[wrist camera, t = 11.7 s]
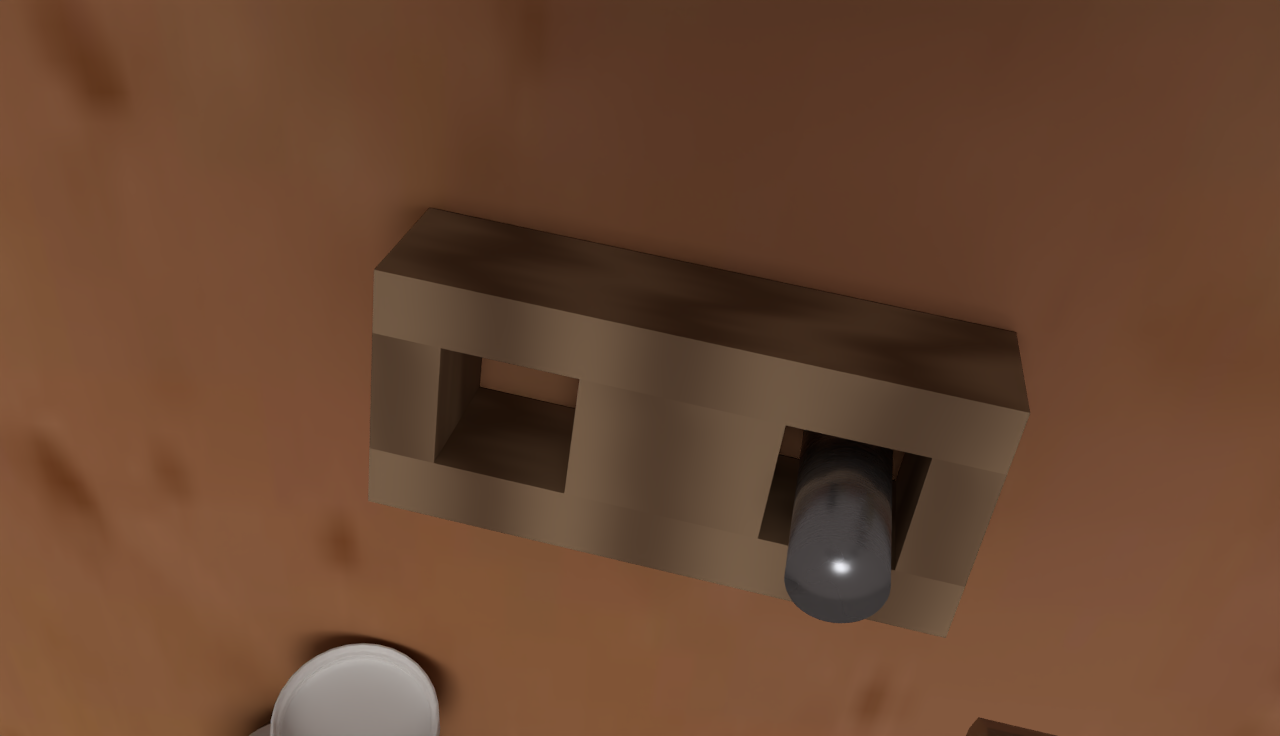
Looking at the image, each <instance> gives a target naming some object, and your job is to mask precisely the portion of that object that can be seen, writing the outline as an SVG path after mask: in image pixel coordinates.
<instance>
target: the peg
mask: <svg viewBox="0 0 1280 736" xmlns="http://www.w3.org/2000/svg"><path fill="white" fill-rule="evenodd" d="M892 466H893V449H889V448H885V447H881V446H876V445H872V444H867V443H863V442H858V441H854V440H849V439H845V438H840V437H836V436H831V435H827V434H822V433H818V432H813V431H809V430H805V429H804V432H803V439H802V447H801V454H800V462H799V469H798V477H797V484H796V492H795V499H794V507H793V514H792V522H791V529H790V537H789V544H788V552H787V559H786V567H785V574H784V582H785V588H786V591H787V593H788V595H789V597H790V598H791V600H792V601H793V602H794V603H795V605H796V606H797V607H799V608H800V609H801V610H802V611H804V612H805V613H807V614H808V615H810V616H812V617H814V618H817V619H819V620H823V621H827V622H832V623H850V622H856V621H860V620H863V619H866V618H868V617H870V616H872V615H873V614H875V613H876V612H877V611H878V610H880V609H881V608H882V606H883V605H884V604H885V602H886V601H887V599H888V597H889V594H890V590H891V539H892Z"/></svg>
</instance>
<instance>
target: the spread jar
mask: <svg viewBox="0 0 1280 736" xmlns="http://www.w3.org/2000/svg"><path fill="white" fill-rule="evenodd" d="M439 734H440V719H439V703H438V699H437V695H436V691H435V688H434V686H433V684H432V682H431V680H430V678H429V677H428V675H427V674H426V673H425V671H424V670H423V669H422V668H421V667H420V665H419V664H418V663H416V662H415V661H414V660H413V659H411V658H410V657H409V656H407V655H406V654H404V653H402V652H400V651H398V650H396V649H394V648H390V647H387V646H383V645H379V644H369V643H358V644H347V645H344V646H340V647H336V648H332V649H330V650H328V651H326V652H323V653H321V654H319V655H317V656H315V657H314V658H313V659H311V660H310V661H308V662H307V663H305V664H304V665H303V666H301V667H300V668H299V669H298V670H297V671H296V672H295V673H294V674H293V675H292V676H291V677H290V679H289V680H288V682H287V683H286V684H285V686H284V687H283V689H282V690H281V692H280V694H279V696H278V699H277V701H276V703H275V706H274V709H273V713H272V717H271V721H269V722H268V723H266V724H265V725H263V726H262V727H260V728H259V729H257V730H256V731H254V732H253V733H251V734H250V735H249V736H439Z"/></svg>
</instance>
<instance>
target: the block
mask: <svg viewBox="0 0 1280 736" xmlns="http://www.w3.org/2000/svg"><path fill="white" fill-rule="evenodd" d="M482 357H483V358H487V359H492V360H496V361H501V362H505V363H509V364H514V365H518V366H523V367H527V368H532V369H536V370H541V371H545V372H550V373H554V374H559V375H563V376H568V377H572V378H577V379H580V380H579V387H578V395H577V402H576V409H573V408H569V407H565V406H560V405H556V404H551V403H547V402H543V401H538V400H534V399H529V398H525V397H520V396H516V395H512V394H507V393H503V392H498V391H494V390H489V389H485V388H481V387H479V386H480V373H481V361H482ZM1029 415H1030V409H1029V404H1028V398H1027V392H1026V386H1025V380H1024V375H1023V369H1022V363H1021V357H1020V351H1019V346H1018V340H1017V334H1016V332H1011V331H1007V330H1002V329H997V328H993V327H988V326H983V325H978V324H974V323H969V322H964V321H960V320H955V319H950V318H946V317H941V316H936V315H931V314H927V313H922V312H917V311H913V310H908V309H903V308H899V307H894V306H889V305H884V304H880V303H875V302H870V301H866V300H861V299H856V298H851V297H847V296H842V295H837V294H833V293H828V292H823V291H819V290H814V289H809V288H804V287H800V286H795V285H790V284H786V283H781V282H776V281H772V280H767V279H762V278H757V277H753V276H748V275H743V274H739V273H734V272H729V271H724V270H720V269H715V268H710V267H706V266H701V265H696V264H692V263H687V262H682V261H677V260H673V259H668V258H663V257H659V256H654V255H649V254H645V253H640V252H635V251H630V250H626V249H621V248H616V247H612V246H607V245H602V244H598V243H593V242H588V241H583V240H579V239H574V238H569V237H565V236H560V235H555V234H550V233H546V232H541V231H536V230H532V229H527V228H522V227H518V226H513V225H508V224H503V223H499V222H494V221H489V220H485V219H480V218H475V217H471V216H466V215H461V214H456V213H452V212H447V211H442V210H438V209H433V208H429V209H428V210H427V211H426V212H425V213H424V215H423V216H422V217H421V218H420V219H419V220H418V221H417V222H416V223H415V225H414V226H413V227H412V228H411V229H410V230H409V231H408V232H407V233H406V235H405V236H404V237H403V238H402V239H401V240H400V241H399V242H398V243H397V245H396V246H395V247H394V248H393V249H392V250H391V251H390V252H389V253H388V255H387V256H386V257H385V258H384V259H383V260H382V261H381V262H380V263H379V265H378V266H377V267H376V268H375V269H374V290H373V330H372V370H371V411H370V451H369V492H368V501H371V502H375V503H379V504H383V505H388V506H392V507H396V508H400V509H404V510H409V511H413V512H417V513H421V514H426V515H430V516H434V517H438V518H442V519H447V520H451V521H455V522H459V523H463V524H468V525H472V526H476V527H480V528H485V529H489V530H493V531H497V532H501V533H506V534H510V535H514V536H518V537H522V538H527V539H531V540H535V541H539V542H543V543H548V544H552V545H556V546H560V547H565V548H569V549H573V550H577V551H581V552H586V553H590V554H594V555H598V556H602V557H607V558H611V559H615V560H619V561H624V562H628V563H632V564H636V565H640V566H645V567H649V568H653V569H657V570H661V571H666V572H670V573H674V574H678V575H683V576H687V577H691V578H695V579H699V580H704V581H708V582H712V583H716V584H720V585H725V586H729V587H733V588H737V589H742V590H746V591H750V592H754V593H758V594H763V595H767V596H771V597H775V598H779V599H784V600H788V601H792V600H791V598H790V597H789V595H788V593H787V591H786V588H785V582H784V574H785V567H786V559H787V552H788V544H789V537H790V529H791V522H792V514H793V507H794V499H795V492H796V484H797V477H798V469H799V462H800V460H799V459H795V458H790V457H786V456H781V455H778V454H779V450H780V446H781V442H782V438H783V434H784V430H785V426H786V425H787V426H791V427H796V428H800V429H805V430H809V431H813V432H818V433H822V434H827V435H831V436H836V437H840V438H845V439H849V440H854V441H858V442H863V443H867V444H872V445H876V446H881V447H885V448H889V449H894V450H898V451H903V452H905V454H904V457H903V461H902V464H901V467H900V470H899V473H898V476H897V480H896V481H892V539H891V590H890V594H889V597H888V599H887V601H886V602H885V604H884V605H883V606H882V608H881V609H880V610H878V611H877V612H876V613H875V614H873V615H872V616H870V617H868V618H866V619H868V620H872V621H876V622H881V623H885V624H889V625H893V626H897V627H902V628H906V629H910V630H914V631H919V632H923V633H927V634H931V635H935V636H940V637H944V638H946V636H947V633H948V631H949V628H950V625H951V623H952V620H953V617H954V615H955V612H956V609H957V607H958V604H959V601H960V599H961V596H962V593H963V591H964V588H965V585H966V583H967V580H968V577H969V575H970V572H971V569H972V567H973V564H974V561H975V559H976V556H977V553H978V551H979V548H980V545H981V543H982V540H983V537H984V535H985V532H986V529H987V527H988V524H989V521H990V519H991V516H992V513H993V511H994V508H995V505H996V503H997V500H998V497H999V495H1000V492H1001V489H1002V487H1003V484H1004V481H1005V479H1006V476H1007V473H1008V471H1009V468H1010V465H1011V463H1012V460H1013V457H1014V455H1015V452H1016V449H1017V447H1018V444H1019V441H1020V439H1021V436H1022V433H1023V431H1024V428H1025V425H1026V423H1027V420H1028V417H1029ZM792 602H793V601H792Z"/></svg>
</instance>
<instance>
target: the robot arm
mask: <svg viewBox="0 0 1280 736" xmlns="http://www.w3.org/2000/svg"><path fill="white" fill-rule="evenodd" d="M966 736H1056V735H1052V734H1048V733H1043V732H1039V731H1035V730H1031V729H1026V728H1022V727H1018V726H1013V725H1009V724H1005V723H1001V722H996V721H992V720H988V719H984V718H979V717H978V718H977V720H976V721H975V722H974V723H973V724H972V726H971V727H970V728H969V730H968V732H967V735H966Z"/></svg>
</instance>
